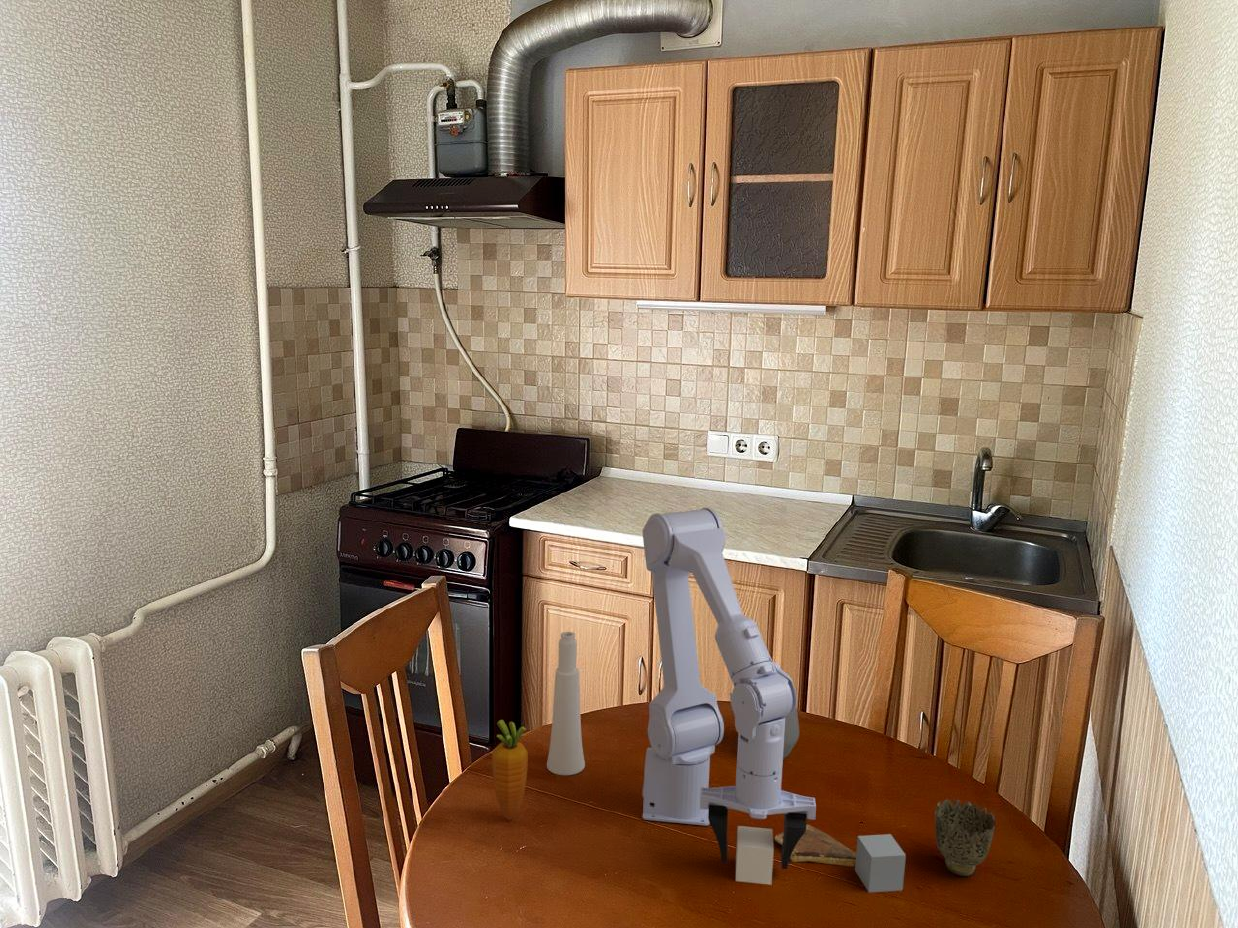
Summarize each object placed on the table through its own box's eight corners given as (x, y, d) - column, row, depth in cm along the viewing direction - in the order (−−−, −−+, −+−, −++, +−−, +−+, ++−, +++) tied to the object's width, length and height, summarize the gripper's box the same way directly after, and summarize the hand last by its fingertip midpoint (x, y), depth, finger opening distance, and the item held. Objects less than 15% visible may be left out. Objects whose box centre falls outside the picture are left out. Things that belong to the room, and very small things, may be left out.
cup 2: (983, 895, 113) (990, 837, 112) (923, 874, 117) (929, 818, 115) (994, 864, 119) (1000, 809, 118) (937, 845, 123) (942, 792, 122)
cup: (802, 768, 143) (806, 709, 141) (743, 766, 143) (746, 708, 141) (791, 739, 152) (795, 684, 150) (736, 738, 152) (739, 682, 150)
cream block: (735, 881, 115) (737, 845, 114) (735, 859, 119) (737, 825, 118) (771, 884, 114) (773, 849, 113) (770, 863, 118) (772, 829, 118)
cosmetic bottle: (574, 752, 146) (576, 624, 142) (591, 770, 141) (594, 637, 137) (540, 761, 143) (541, 630, 139) (557, 779, 138) (558, 644, 134)
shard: (868, 870, 118) (870, 858, 118) (830, 892, 114) (831, 879, 113) (806, 830, 127) (807, 819, 126) (768, 849, 122) (769, 837, 122)
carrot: (534, 820, 127) (535, 721, 124) (507, 834, 123) (507, 733, 120) (511, 806, 130) (512, 709, 127) (484, 819, 126) (484, 721, 124)
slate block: (868, 892, 113) (871, 857, 112) (854, 870, 117) (857, 835, 117) (902, 890, 114) (905, 854, 113) (887, 868, 118) (890, 833, 117)
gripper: (700, 775, 111) (696, 874, 113) (820, 786, 109) (813, 886, 111) (703, 748, 118) (699, 841, 120) (815, 757, 116) (809, 852, 118)
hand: (754, 861), depth 116 cm, fingers open, 7 cm apart
